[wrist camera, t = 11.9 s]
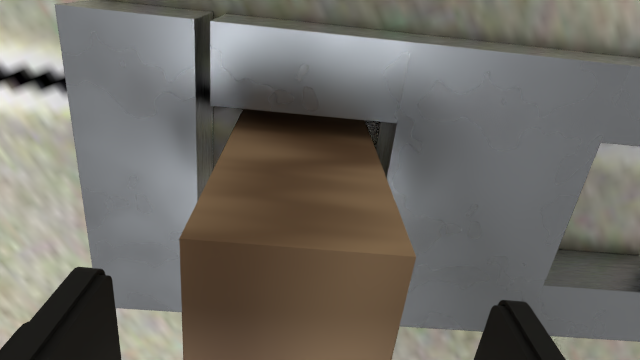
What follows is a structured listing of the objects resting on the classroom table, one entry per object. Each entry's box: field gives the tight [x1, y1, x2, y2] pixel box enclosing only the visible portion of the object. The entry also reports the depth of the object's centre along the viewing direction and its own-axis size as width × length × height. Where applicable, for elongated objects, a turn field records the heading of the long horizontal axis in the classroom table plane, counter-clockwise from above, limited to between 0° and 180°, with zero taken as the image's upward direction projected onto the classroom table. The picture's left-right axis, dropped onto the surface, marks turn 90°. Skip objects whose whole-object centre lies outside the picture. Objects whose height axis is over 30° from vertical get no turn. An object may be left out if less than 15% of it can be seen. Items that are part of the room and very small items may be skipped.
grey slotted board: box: [55, 0, 640, 342], centre depth 18 cm, size 30×12×3 cm, turn 84°
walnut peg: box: [179, 109, 416, 360], centre depth 15 cm, size 5×5×10 cm
